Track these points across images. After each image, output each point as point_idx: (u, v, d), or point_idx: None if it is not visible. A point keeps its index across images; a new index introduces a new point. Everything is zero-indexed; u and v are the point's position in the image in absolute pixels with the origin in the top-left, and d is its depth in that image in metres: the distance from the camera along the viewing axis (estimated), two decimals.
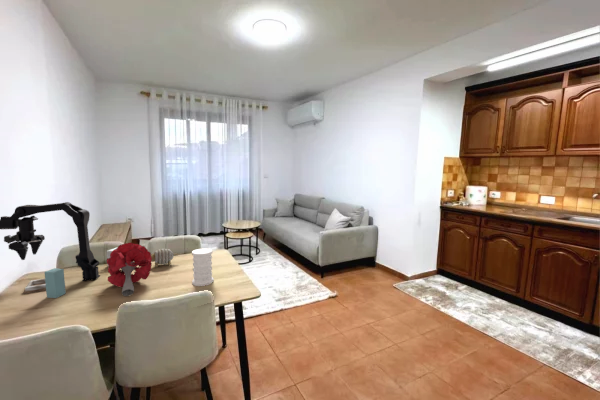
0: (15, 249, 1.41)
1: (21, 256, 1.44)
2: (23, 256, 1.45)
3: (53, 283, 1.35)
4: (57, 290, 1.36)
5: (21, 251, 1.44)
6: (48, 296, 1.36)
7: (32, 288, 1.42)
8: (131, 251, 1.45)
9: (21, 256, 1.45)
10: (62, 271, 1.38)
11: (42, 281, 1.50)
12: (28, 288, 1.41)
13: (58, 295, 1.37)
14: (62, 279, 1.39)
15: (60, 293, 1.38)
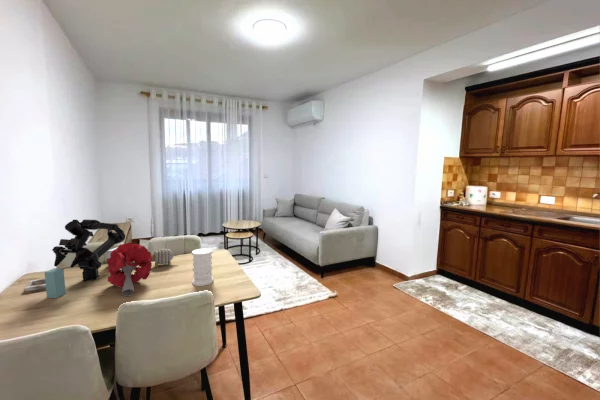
0: (83, 254, 1.44)
1: (74, 263, 1.42)
2: (75, 264, 1.43)
3: (53, 283, 1.35)
4: (57, 290, 1.36)
5: (79, 258, 1.44)
6: (48, 296, 1.36)
7: (32, 288, 1.42)
8: (131, 251, 1.45)
9: (74, 263, 1.42)
10: (62, 271, 1.38)
11: (42, 281, 1.50)
12: (28, 288, 1.41)
13: (58, 295, 1.37)
14: (62, 279, 1.39)
15: (60, 293, 1.38)
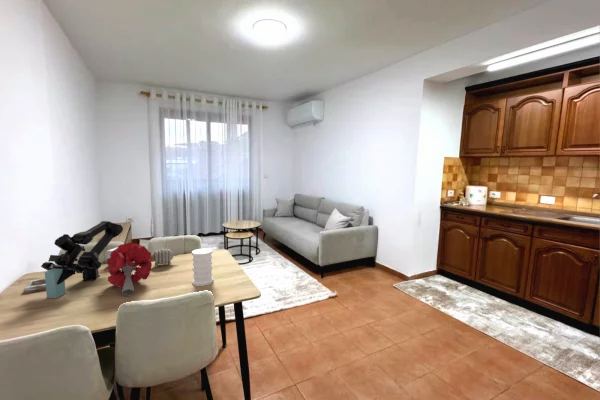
0: (70, 271, 1.39)
1: (61, 280, 1.37)
2: (62, 280, 1.38)
3: (53, 283, 1.35)
4: (57, 290, 1.36)
5: (66, 275, 1.39)
6: (48, 296, 1.36)
7: (32, 288, 1.42)
8: (131, 251, 1.45)
9: (61, 279, 1.37)
10: (62, 271, 1.38)
11: (42, 281, 1.50)
12: (28, 288, 1.41)
13: (58, 295, 1.37)
14: None
15: (60, 293, 1.38)
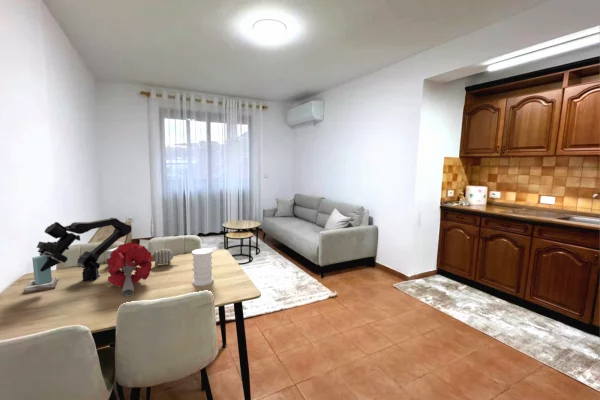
0: (53, 259, 1.38)
1: (45, 267, 1.37)
2: (46, 268, 1.38)
3: (37, 270, 1.36)
4: (40, 277, 1.37)
5: (50, 263, 1.39)
6: (35, 281, 1.38)
7: (32, 288, 1.42)
8: (131, 251, 1.45)
9: (45, 267, 1.37)
10: None
11: None
12: (28, 288, 1.41)
13: (42, 282, 1.38)
14: None
15: (44, 280, 1.38)
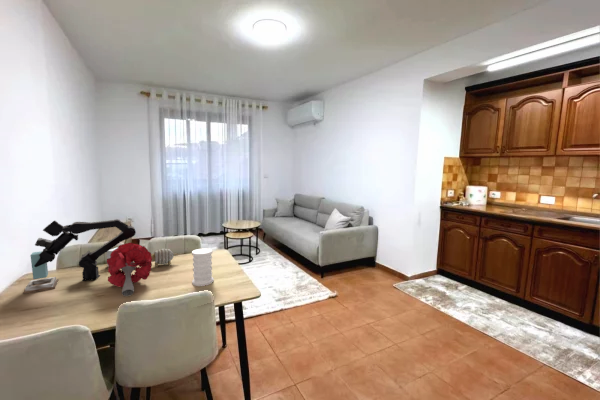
0: None
1: (37, 263, 1.43)
2: (39, 264, 1.43)
3: None
4: (34, 272, 1.43)
5: (43, 260, 1.44)
6: None
7: (32, 288, 1.42)
8: (131, 251, 1.45)
9: (38, 263, 1.43)
10: None
11: (42, 281, 1.50)
12: (28, 288, 1.41)
13: (36, 277, 1.44)
14: None
15: (39, 276, 1.45)
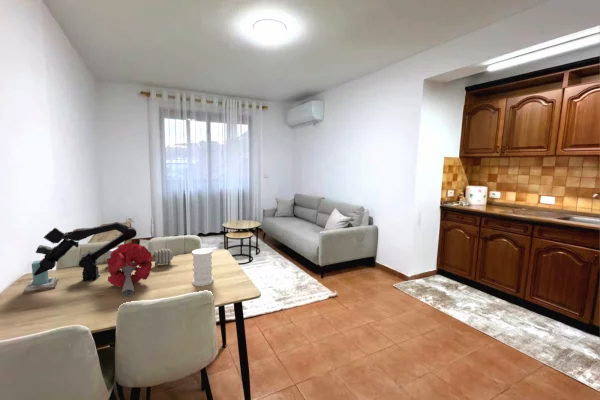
0: (43, 265, 1.41)
1: (37, 272, 1.42)
2: (39, 273, 1.42)
3: None
4: (35, 281, 1.44)
5: (43, 268, 1.43)
6: None
7: (32, 288, 1.42)
8: (131, 251, 1.45)
9: (37, 271, 1.42)
10: None
11: None
12: (28, 288, 1.41)
13: None
14: None
15: (39, 284, 1.45)
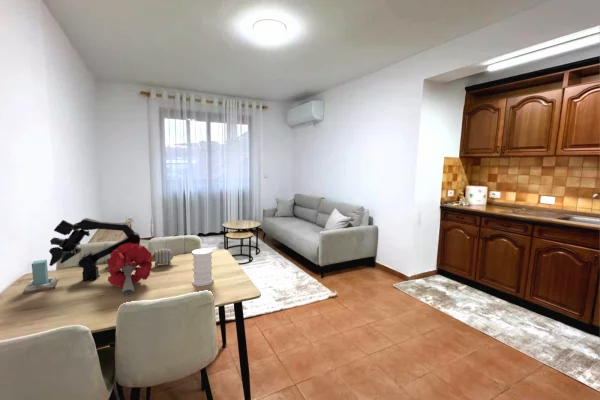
0: (53, 254, 1.44)
1: (51, 262, 1.46)
2: (53, 263, 1.46)
3: None
4: (35, 281, 1.44)
5: (55, 257, 1.46)
6: None
7: (32, 288, 1.42)
8: (131, 251, 1.45)
9: (52, 261, 1.46)
10: (43, 264, 1.45)
11: None
12: (28, 288, 1.41)
13: None
14: (42, 272, 1.45)
15: (39, 284, 1.45)
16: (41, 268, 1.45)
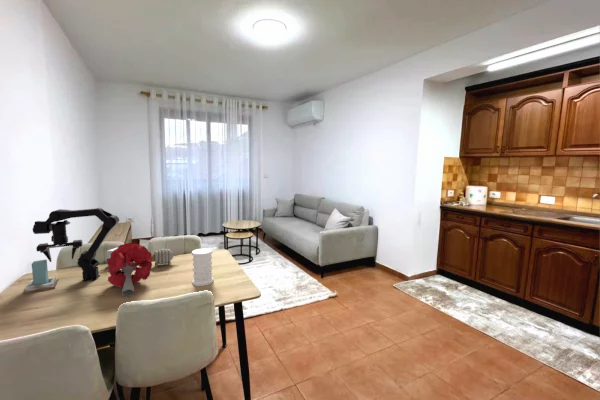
0: None
1: None
2: (48, 258, 1.50)
3: None
4: (35, 281, 1.44)
5: None
6: None
7: (32, 288, 1.42)
8: (131, 251, 1.45)
9: None
10: (43, 264, 1.45)
11: None
12: (28, 288, 1.41)
13: None
14: (42, 272, 1.45)
15: (39, 284, 1.45)
16: (41, 268, 1.45)
